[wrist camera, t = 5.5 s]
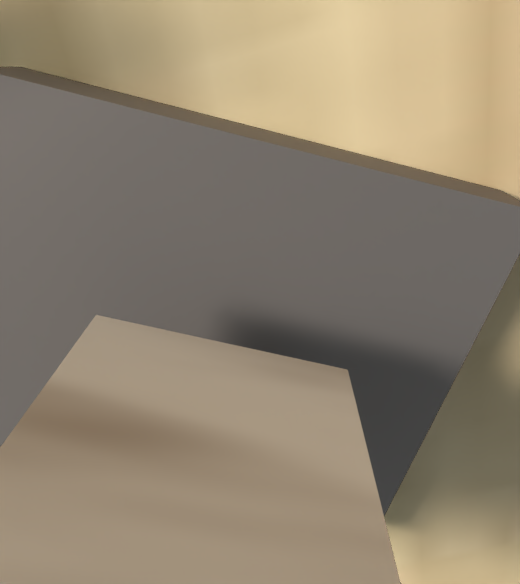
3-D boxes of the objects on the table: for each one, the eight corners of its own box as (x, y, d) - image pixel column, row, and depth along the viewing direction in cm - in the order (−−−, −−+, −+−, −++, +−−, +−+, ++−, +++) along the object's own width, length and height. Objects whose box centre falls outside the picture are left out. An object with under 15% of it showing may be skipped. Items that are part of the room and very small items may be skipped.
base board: (350, 510, 17) (359, 563, 15) (14, 445, 16) (-19, 493, 14) (500, 190, 12) (541, 212, 10) (20, 66, 11) (-30, 66, 9)
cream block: (283, 534, 11) (289, 840, 7) (77, 496, 11) (-58, 793, 6) (347, 370, 9) (417, 653, 5) (96, 314, 9) (-87, 567, 4)
